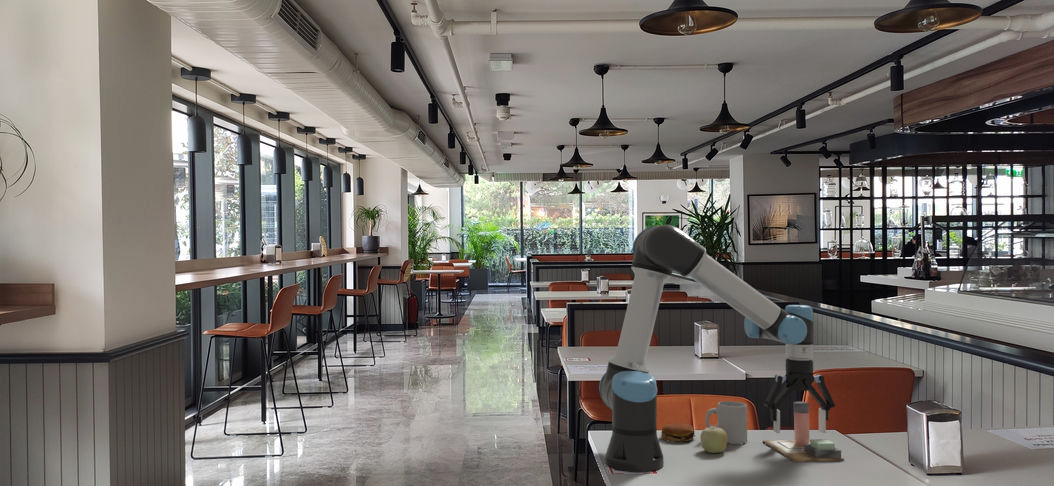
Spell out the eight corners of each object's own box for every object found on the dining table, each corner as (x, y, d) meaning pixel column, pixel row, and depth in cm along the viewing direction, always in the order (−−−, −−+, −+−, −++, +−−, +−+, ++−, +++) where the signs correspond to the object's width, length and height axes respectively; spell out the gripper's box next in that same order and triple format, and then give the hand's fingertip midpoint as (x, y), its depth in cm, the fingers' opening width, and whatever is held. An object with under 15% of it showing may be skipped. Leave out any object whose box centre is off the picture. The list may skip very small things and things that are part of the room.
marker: (797, 447, 201) (796, 404, 201) (792, 443, 205) (791, 401, 205) (812, 446, 201) (811, 404, 201) (806, 443, 205) (805, 401, 205)
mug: (744, 437, 214) (744, 401, 214) (749, 445, 205) (749, 407, 206) (704, 436, 216) (704, 400, 216) (707, 443, 207) (707, 406, 207)
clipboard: (793, 461, 188) (793, 451, 188) (762, 442, 208) (762, 433, 208) (844, 460, 189) (843, 450, 190) (808, 441, 209) (808, 432, 209)
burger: (655, 439, 212) (655, 423, 212) (672, 434, 219) (672, 419, 219) (684, 445, 206) (684, 429, 206) (700, 439, 212) (700, 424, 213)
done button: (818, 450, 191) (818, 443, 191) (810, 445, 195) (810, 439, 195) (834, 450, 191) (834, 443, 191) (826, 445, 196) (826, 439, 196)
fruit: (731, 455, 194) (730, 426, 194) (704, 455, 194) (704, 426, 194) (723, 448, 202) (723, 420, 202) (697, 448, 202) (697, 420, 202)
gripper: (763, 360, 200) (763, 435, 199) (847, 360, 202) (847, 434, 201) (752, 356, 207) (752, 429, 207) (834, 356, 209) (834, 428, 209)
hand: (799, 432), depth 204 cm, fingers open, 13 cm apart
